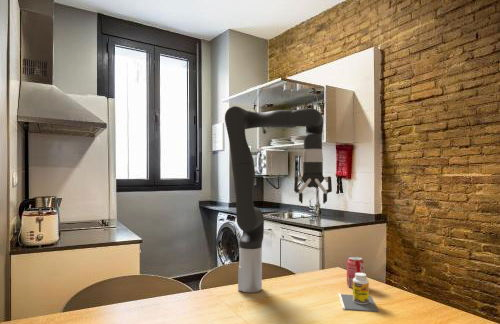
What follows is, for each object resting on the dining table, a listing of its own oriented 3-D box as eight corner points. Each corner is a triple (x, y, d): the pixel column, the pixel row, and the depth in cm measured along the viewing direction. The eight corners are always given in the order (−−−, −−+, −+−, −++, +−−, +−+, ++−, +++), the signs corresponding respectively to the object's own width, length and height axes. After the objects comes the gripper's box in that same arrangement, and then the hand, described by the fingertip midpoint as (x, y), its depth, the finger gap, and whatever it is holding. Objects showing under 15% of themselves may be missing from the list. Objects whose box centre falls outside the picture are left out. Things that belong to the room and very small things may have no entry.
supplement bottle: (352, 304, 122) (352, 275, 122) (352, 298, 127) (352, 271, 127) (369, 306, 120) (368, 277, 120) (368, 300, 125) (368, 272, 126)
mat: (342, 309, 118) (342, 307, 118) (338, 295, 132) (338, 293, 132) (378, 311, 116) (378, 309, 116) (370, 296, 130) (370, 295, 130)
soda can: (362, 284, 145) (362, 256, 145) (366, 290, 138) (366, 260, 138) (345, 283, 145) (345, 255, 146) (348, 289, 138) (348, 259, 139)
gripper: (330, 161, 133) (330, 202, 133) (294, 161, 136) (294, 201, 135) (332, 161, 126) (332, 204, 125) (294, 160, 128) (293, 203, 128)
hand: (312, 203), depth 130 cm, fingers open, 8 cm apart
